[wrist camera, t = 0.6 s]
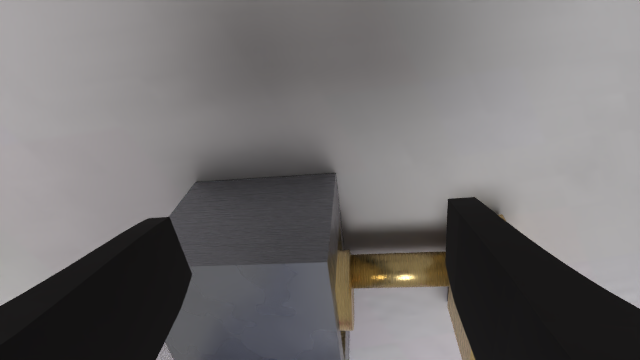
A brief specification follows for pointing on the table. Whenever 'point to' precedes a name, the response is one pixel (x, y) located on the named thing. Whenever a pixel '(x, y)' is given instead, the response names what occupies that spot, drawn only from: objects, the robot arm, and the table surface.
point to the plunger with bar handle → (394, 282)
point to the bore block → (260, 270)
